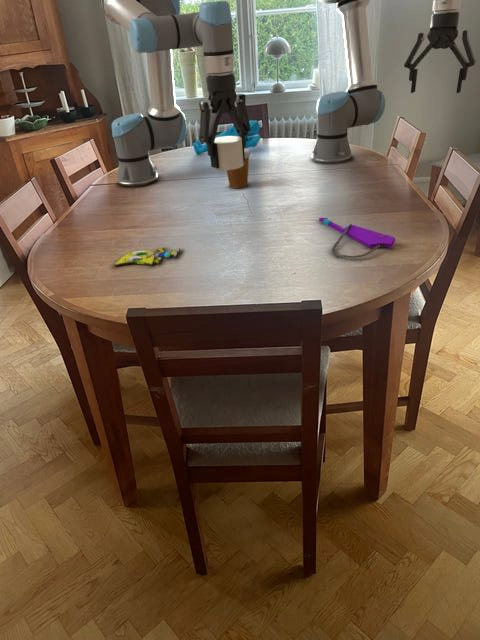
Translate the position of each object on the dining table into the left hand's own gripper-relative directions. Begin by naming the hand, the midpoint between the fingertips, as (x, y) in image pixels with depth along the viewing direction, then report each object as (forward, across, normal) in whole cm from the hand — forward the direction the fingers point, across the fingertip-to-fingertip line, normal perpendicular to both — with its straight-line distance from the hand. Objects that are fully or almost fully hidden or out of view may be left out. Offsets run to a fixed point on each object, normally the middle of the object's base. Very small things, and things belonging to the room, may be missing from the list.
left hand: (228, 163), depth 135 cm
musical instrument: (+16, +9, -36) cm, 40 cm away
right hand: (-9, +68, -19) cm, 72 cm away
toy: (+17, +48, +64) cm, 82 cm away
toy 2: (+16, -32, -5) cm, 36 cm away
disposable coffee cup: (+17, +21, +23) cm, 35 cm away
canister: (+1, 0, 0) cm, 1 cm away
